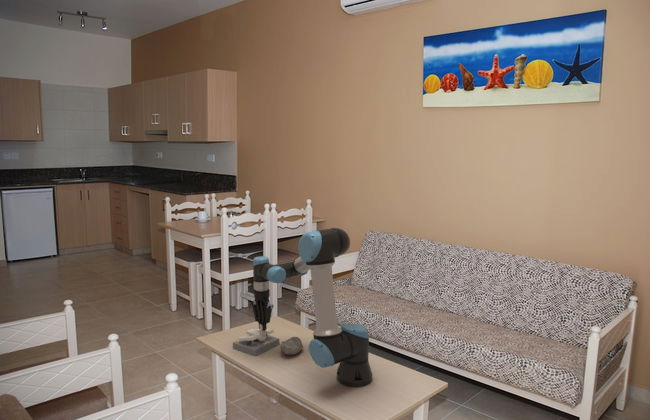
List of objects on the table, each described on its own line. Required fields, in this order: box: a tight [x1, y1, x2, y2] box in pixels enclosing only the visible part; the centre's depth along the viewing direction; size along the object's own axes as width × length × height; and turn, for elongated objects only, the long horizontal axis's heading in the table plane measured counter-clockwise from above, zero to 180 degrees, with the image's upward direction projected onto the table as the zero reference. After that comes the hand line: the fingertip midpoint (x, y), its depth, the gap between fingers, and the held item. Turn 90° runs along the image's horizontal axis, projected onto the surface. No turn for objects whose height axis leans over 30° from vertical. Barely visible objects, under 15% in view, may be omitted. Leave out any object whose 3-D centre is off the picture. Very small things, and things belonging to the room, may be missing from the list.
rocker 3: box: [255, 327, 275, 335], centre depth 246 cm, size 10×4×2 cm, turn 54°
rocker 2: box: [245, 328, 266, 341], centre depth 241 cm, size 10×4×2 cm, turn 54°
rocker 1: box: [237, 335, 258, 341], centre depth 237 cm, size 10×4×2 cm, turn 54°
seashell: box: [280, 336, 304, 356], centre depth 235 cm, size 9×12×15 cm
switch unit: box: [232, 334, 280, 357], centre depth 242 cm, size 15×17×5 cm
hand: (262, 336), depth 239 cm, fingers closed
